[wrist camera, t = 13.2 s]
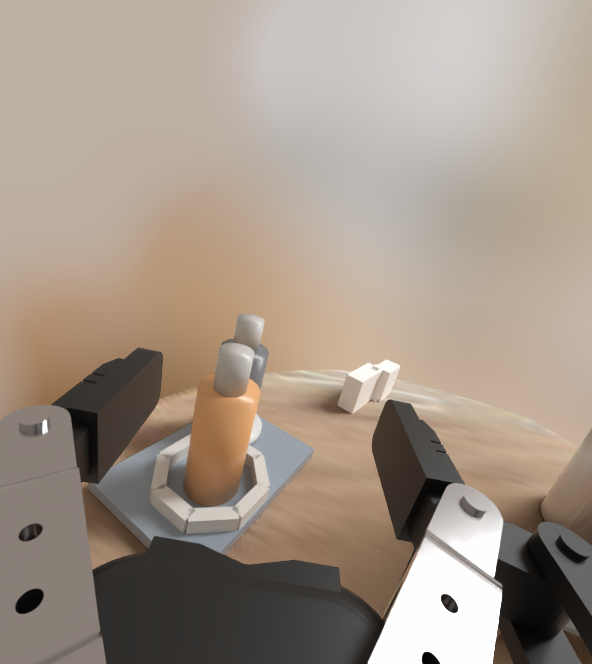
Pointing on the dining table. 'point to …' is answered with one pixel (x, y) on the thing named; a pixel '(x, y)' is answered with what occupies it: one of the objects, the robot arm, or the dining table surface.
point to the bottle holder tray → (169, 470)
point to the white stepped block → (368, 385)
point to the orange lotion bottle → (221, 427)
